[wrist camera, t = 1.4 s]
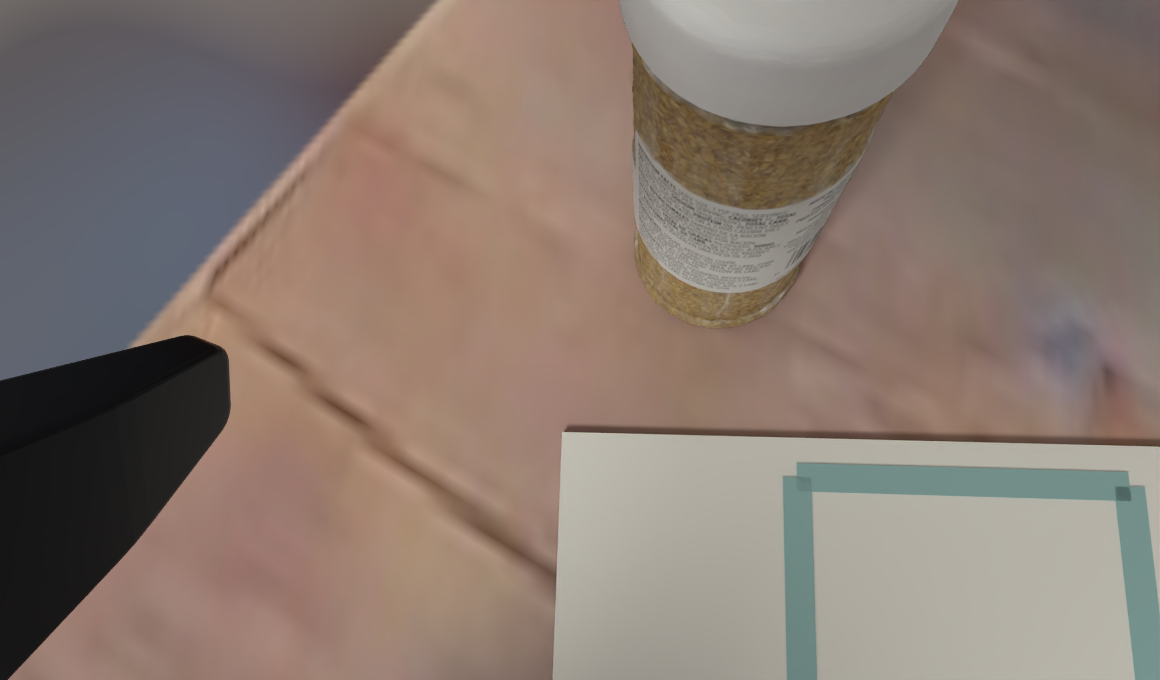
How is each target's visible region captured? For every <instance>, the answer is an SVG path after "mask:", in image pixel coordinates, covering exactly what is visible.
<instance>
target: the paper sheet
mask: <svg viewBox="0 0 1160 680" xmlns="http://www.w3.org/2000/svg"><path fill="white" fill-rule="evenodd" d="M553 680H1160V447H1150V446H1110V445H1069V444H1028V443H988V442H947V441H907V440H866V439H826V438H785V437H745V436H704V435H664V434H623V433H583V432H562V451H561V477H560V502H559V528H558V553H557V579H556V604H555V629H554V655H553Z"/></svg>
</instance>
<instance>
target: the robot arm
mask: <svg viewBox="0 0 1160 680" xmlns="http://www.w3.org/2000/svg"><path fill="white" fill-rule="evenodd" d="M230 408H231V402H230V378H229V359H228V355H227V353H226V351H225V350H224V349H223V348H222V347H220V346H218V345H216V344H213V343H211V342H208V341H206V340H203V339H200V338H198V337H195V336H191V335H184V336H179V337H175V338H171V339H167V340H163V341H159V342H155V343H150V344H146V345H142V346H138V347H134V348H130V349H126V350H122V351H118V352H114V353H110V354H106V355H102V356H98V357H94V358H90V359H86V360H82V361H78V362H74V363H70V364H65V365H62V366H57V367H53V368H49V369H45V370H41V371H37V372H33V373H30V374H25V375H21V376H17V377H13V378H9V379H5V380H1V381H0V680H8V679H9V678H10V677H11V676H12V675H13V674H14V672H15V671H16V670H17V669H18V668H19V667H20V666H21V665H22V664H23V663H24V662H25V661H26V660H27V659H28V658H29V657H30V655H31V654H32V653H33V652H34V651H35V650H36V649H37V648H38V647H39V646H40V645H41V644H42V643H43V642H44V641H45V640H46V638H47V637H48V636H49V635H50V634H51V633H52V632H53V631H54V630H55V629H56V628H57V627H58V626H59V625H60V624H61V622H62V621H63V620H64V619H65V618H66V617H67V616H68V615H69V614H70V613H71V612H72V611H73V610H74V609H75V608H76V607H77V605H78V604H79V603H80V602H81V601H82V600H83V599H84V598H85V597H86V596H87V595H88V594H89V593H90V592H91V591H92V590H93V588H94V587H95V586H96V585H97V584H98V583H99V582H100V581H101V580H102V579H103V578H104V577H105V576H106V575H107V574H108V573H109V571H110V570H111V569H112V568H113V567H114V566H115V565H116V564H117V563H118V562H119V561H120V560H121V559H122V557H123V556H124V555H125V554H126V553H127V552H128V551H129V550H130V549H131V547H132V546H133V545H134V544H135V543H136V542H137V540H138V539H139V538H140V537H141V536H142V534H143V533H144V532H145V531H146V529H147V528H148V527H149V526H150V524H151V523H152V522H153V521H154V519H155V518H156V517H157V515H158V514H159V513H160V511H161V510H162V509H163V507H164V506H165V505H166V504H167V502H168V501H169V500H170V498H171V497H172V496H173V494H174V493H175V492H176V490H177V489H178V488H179V486H180V485H181V484H182V483H183V481H184V480H185V479H186V477H187V476H188V475H189V473H190V472H191V471H192V469H193V468H194V467H195V466H196V464H197V463H198V462H199V460H200V459H201V458H202V456H203V455H204V454H205V452H206V451H207V450H208V448H209V447H210V446H211V445H212V443H213V442H214V441H215V439H216V438H217V437H218V435H219V434H220V433H221V431H222V430H223V428H224V426H225V425H226V423H227V420H228V418H229V414H230Z"/></svg>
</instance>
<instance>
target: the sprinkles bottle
mask: <svg viewBox="0 0 1160 680" xmlns="http://www.w3.org/2000/svg"><path fill="white" fill-rule="evenodd" d="M619 1H620V8H621V13H622V17H623V20H624V24H625V26H626V29H627V32H628V34H629V37H630V39H631V41H632V47H633V67H634V68H633V74H634V75H633V87H632V92H633V106H634V122H633V124H634V136H633V142H632V170H633V198H634V213H635V219H636V223H637V228H636V232H635V237H634V245H635V260H636V264H637V269H638V272H639V275H640V277H641V279H642V281H643V283H644V285H645V287H646V288H647V290H648V292H649V294H650V295H651V297H652V298H653V300H654V301H655V302H657V303H658V304H659V305H661V306H662V307H663V308H664V309H666V310H667V311H668V312H669V313H670V314H672V315H673V316H676V317H678V318H680V319H681V320H683V321H685V322H687V323H690V324H693V325H698V326H702V327H706V328H710V329H713V328H729V327H734V326H738V325H742V324H746V323H749V322H751V321H753V320H755V319H757V318H760V317H762V316H763V315H765V314H766V313H768V312H769V311H771V310H772V309H773V308H775V306H776V305H777V304H778V303H779V302H780V300H782V299H783V298H784V297H785V296H786V294H787V293H788V291H789V289H790V288H791V286H792V285H793V284H794V282H795V280H796V277H797V275H798V273H799V267H800V262H801V261H802V260H803V259H804V257H805V256H806V255H807V254H808V252H809V251H810V249H811V247H812V246H813V244H814V242H815V241H816V239H817V237H818V235H819V234H820V232H821V230H822V228H823V226H824V225H825V223H826V221H827V219H828V217H829V216H830V214H831V212H832V210H833V208H834V206H835V205H836V203H837V201H838V199H839V197H840V195H841V194H842V192H843V190H844V188H845V186H846V184H847V183H848V181H849V179H850V177H851V176H852V174H853V172H854V171H855V169H856V167H857V165H858V164H859V162H860V160H861V158H862V157H863V155H864V153H865V151H866V149H867V147H868V145H869V143H870V141H871V139H872V136H873V133H874V130H875V127H876V123H877V122H878V121H879V119H880V117H881V115H882V113H883V111H884V107H885V106H886V104H887V102H888V101H889V99H890V97H891V95H892V93H893V91H894V90H895V89H897V88H898V87H899V86H901V85H902V84H903V83H904V82H905V81H906V80H907V79H908V78H909V77H910V76H911V75H912V74H913V73H914V72H915V71H916V70H917V69H918V68H919V66H920V65H921V64H922V63H923V61H924V60H925V59H926V57H927V56H928V55H929V53H930V52H931V50H932V48H933V47H934V45H935V43H936V41H937V40H938V38H939V36H940V34H941V33H942V31H943V29H944V28H945V26H946V24H947V22H948V21H949V19H950V17H951V15H952V13H953V11H954V9H955V7H956V5H957V3H958V1H959V0H619Z"/></svg>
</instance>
